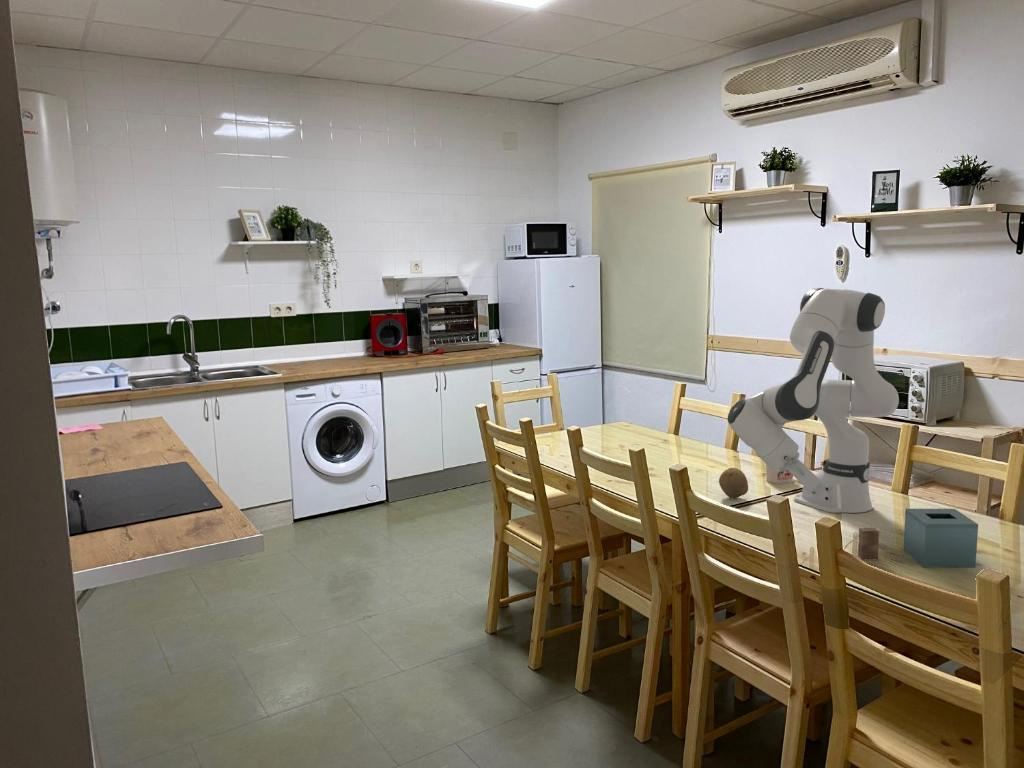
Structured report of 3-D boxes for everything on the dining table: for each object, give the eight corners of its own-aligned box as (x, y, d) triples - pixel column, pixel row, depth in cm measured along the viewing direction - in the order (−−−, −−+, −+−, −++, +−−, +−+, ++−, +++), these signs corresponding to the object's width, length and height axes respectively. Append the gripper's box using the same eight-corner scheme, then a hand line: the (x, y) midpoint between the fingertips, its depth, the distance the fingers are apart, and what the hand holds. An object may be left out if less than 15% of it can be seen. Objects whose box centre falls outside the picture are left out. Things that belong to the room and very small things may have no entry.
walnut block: (861, 559, 192) (862, 531, 191) (857, 556, 194) (859, 527, 193) (877, 559, 191) (879, 531, 190) (874, 556, 194) (875, 527, 193)
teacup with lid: (779, 486, 257) (780, 452, 255) (759, 479, 265) (760, 447, 263) (805, 480, 262) (806, 447, 260) (785, 474, 270) (786, 442, 268)
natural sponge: (717, 493, 250) (717, 464, 249) (745, 494, 249) (746, 464, 247) (720, 501, 242) (720, 471, 240) (749, 502, 240) (749, 471, 239)
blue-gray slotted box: (923, 567, 186) (925, 524, 184) (903, 549, 198) (905, 508, 196) (975, 567, 184) (978, 524, 183) (952, 549, 196) (954, 508, 195)
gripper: (801, 453, 180) (842, 493, 180) (779, 435, 200) (816, 471, 201) (781, 471, 181) (822, 511, 181) (761, 452, 201) (798, 488, 202)
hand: (819, 490), depth 191 cm, fingers open, 8 cm apart
